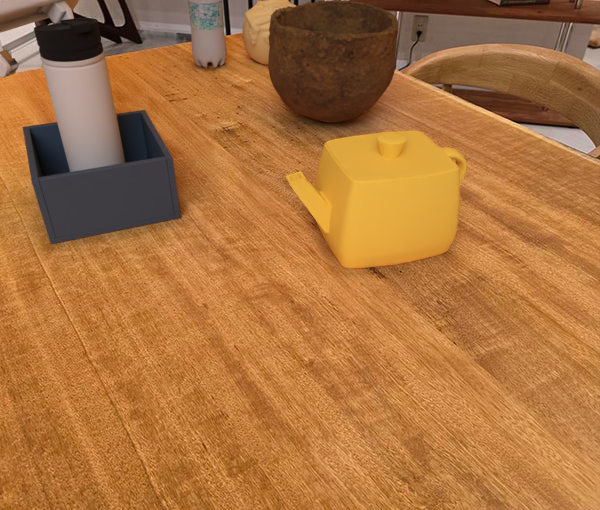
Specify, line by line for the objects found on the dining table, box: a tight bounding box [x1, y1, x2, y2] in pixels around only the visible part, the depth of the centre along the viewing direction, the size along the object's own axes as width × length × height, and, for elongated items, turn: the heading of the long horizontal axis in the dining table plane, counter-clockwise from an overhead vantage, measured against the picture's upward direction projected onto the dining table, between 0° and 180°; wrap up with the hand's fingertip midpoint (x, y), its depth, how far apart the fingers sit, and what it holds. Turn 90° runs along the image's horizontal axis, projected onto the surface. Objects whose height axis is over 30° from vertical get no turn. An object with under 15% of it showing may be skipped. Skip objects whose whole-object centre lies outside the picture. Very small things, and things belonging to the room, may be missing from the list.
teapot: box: [284, 130, 468, 269], centre depth 62 cm, size 20×12×12 cm, turn 106°
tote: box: [22, 109, 182, 245], centre depth 69 cm, size 14×14×8 cm
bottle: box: [187, 0, 227, 69], centre depth 104 cm, size 7×7×20 cm
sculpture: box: [241, 0, 297, 66], centre depth 109 cm, size 11×12×11 cm
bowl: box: [267, 0, 400, 123], centre depth 87 cm, size 19×19×15 cm
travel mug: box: [33, 17, 125, 172], centre depth 64 cm, size 6×7×20 cm
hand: (46, 59), depth 61 cm, fingers open, 8 cm apart
